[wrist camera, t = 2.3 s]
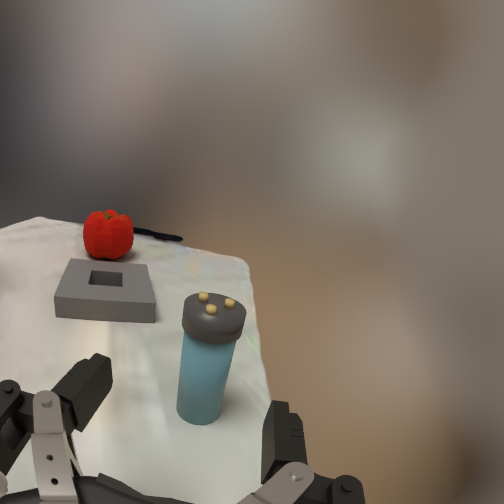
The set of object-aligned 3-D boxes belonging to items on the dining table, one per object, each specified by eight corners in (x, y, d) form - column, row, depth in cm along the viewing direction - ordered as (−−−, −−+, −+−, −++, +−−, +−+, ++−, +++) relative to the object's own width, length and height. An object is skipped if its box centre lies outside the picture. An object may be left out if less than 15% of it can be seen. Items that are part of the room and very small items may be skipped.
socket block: (55, 316, 33) (53, 296, 32) (70, 275, 47) (70, 258, 46) (154, 322, 40) (155, 303, 40) (145, 280, 54) (146, 264, 53)
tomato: (129, 268, 58) (133, 222, 55) (75, 261, 53) (77, 215, 51) (133, 249, 70) (138, 211, 68) (88, 244, 65) (91, 205, 63)
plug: (180, 429, 23) (194, 316, 19) (169, 394, 27) (179, 285, 24) (228, 423, 25) (258, 315, 22) (212, 391, 29) (234, 287, 26)
